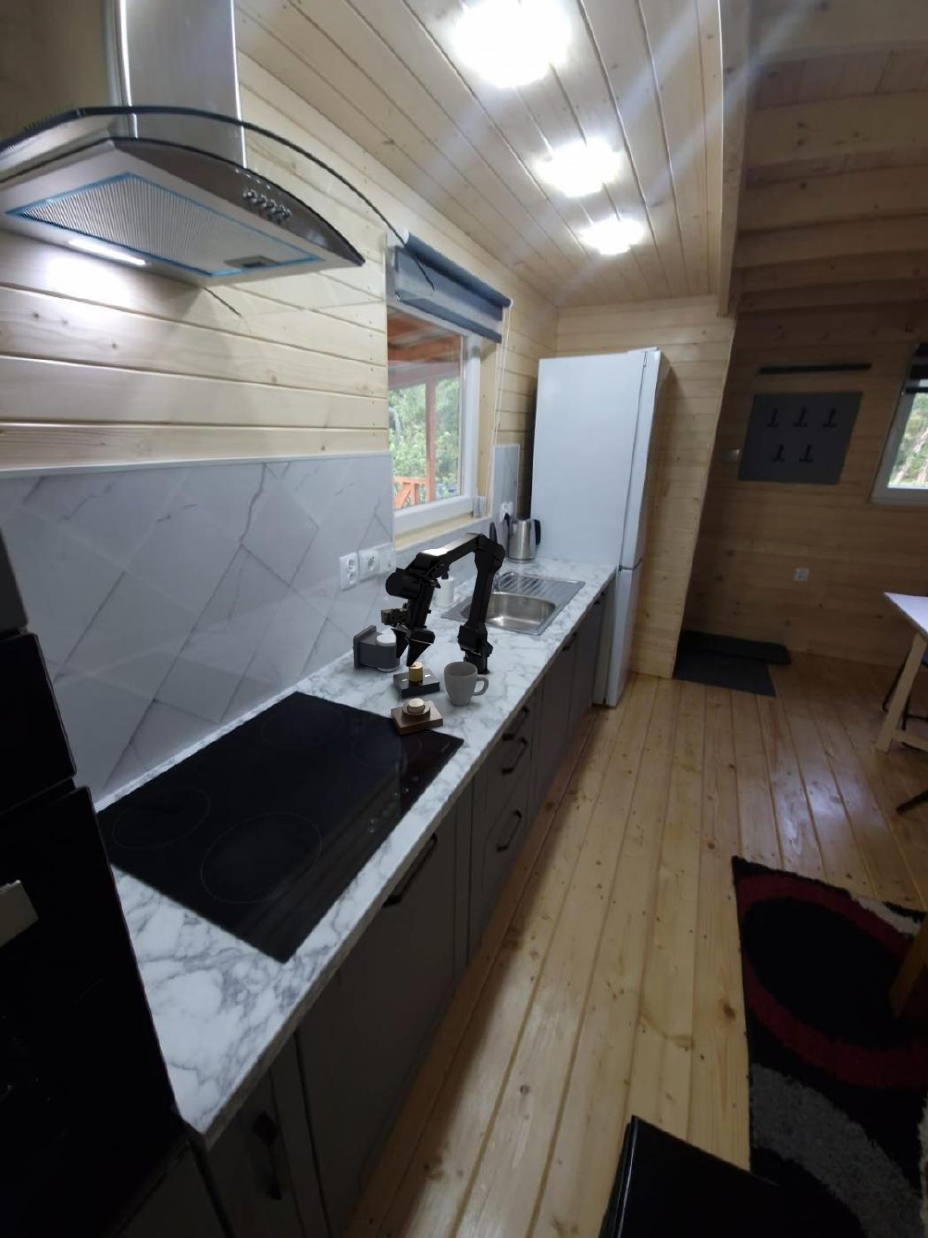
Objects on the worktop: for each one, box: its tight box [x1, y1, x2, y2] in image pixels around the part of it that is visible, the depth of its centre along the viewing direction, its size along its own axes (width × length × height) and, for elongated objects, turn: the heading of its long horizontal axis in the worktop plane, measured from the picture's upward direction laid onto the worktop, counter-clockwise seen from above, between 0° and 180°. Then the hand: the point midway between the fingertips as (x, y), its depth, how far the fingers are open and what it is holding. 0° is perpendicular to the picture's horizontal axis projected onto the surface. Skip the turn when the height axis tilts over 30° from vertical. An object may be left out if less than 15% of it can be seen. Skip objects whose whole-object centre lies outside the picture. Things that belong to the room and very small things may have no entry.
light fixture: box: [352, 624, 401, 672], centre depth 151 cm, size 11×13×11 cm
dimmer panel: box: [392, 667, 441, 700], centre depth 140 cm, size 11×9×3 cm
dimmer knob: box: [407, 661, 424, 682], centre depth 139 cm, size 4×4×4 cm
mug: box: [443, 661, 490, 706], centre depth 133 cm, size 12×9×10 cm
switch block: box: [390, 700, 444, 736], centre depth 125 cm, size 11×9×4 cm
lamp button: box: [407, 697, 425, 712], centre depth 124 cm, size 4×4×2 cm
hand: (402, 662), depth 124 cm, fingers open, 9 cm apart
